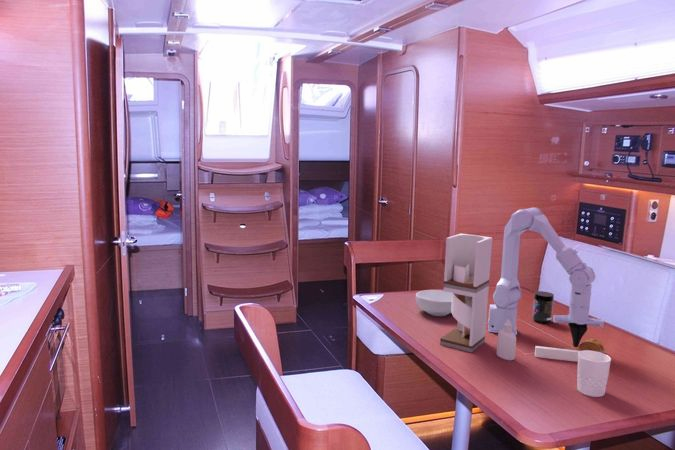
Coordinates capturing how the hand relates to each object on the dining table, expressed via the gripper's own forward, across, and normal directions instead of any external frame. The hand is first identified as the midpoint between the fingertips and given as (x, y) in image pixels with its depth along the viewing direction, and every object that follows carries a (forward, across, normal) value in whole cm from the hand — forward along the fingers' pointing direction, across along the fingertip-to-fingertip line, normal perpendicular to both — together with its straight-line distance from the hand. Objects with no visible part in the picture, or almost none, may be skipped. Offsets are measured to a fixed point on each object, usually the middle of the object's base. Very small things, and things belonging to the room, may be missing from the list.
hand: (575, 345), depth 173 cm
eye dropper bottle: (+2, -22, -13) cm, 26 cm away
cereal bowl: (+2, -45, +24) cm, 51 cm away
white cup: (+2, -1, -30) cm, 30 cm away
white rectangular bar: (+1, -6, -9) cm, 11 cm away
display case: (+2, -35, -5) cm, 35 cm away
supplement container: (+2, -7, +27) cm, 28 cm away
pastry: (+2, +4, -1) cm, 5 cm away
